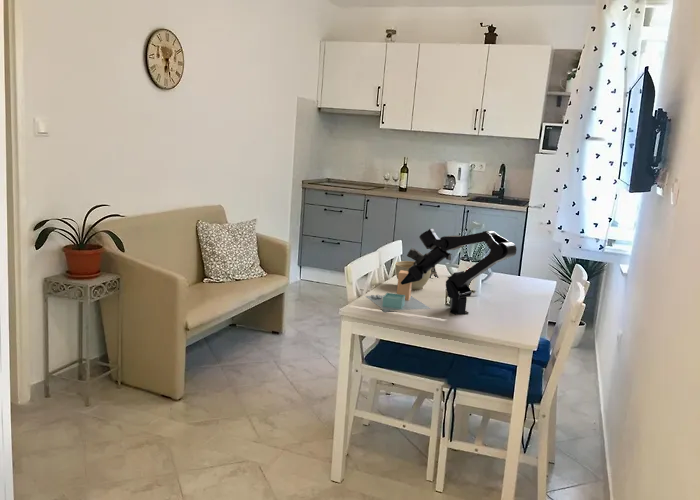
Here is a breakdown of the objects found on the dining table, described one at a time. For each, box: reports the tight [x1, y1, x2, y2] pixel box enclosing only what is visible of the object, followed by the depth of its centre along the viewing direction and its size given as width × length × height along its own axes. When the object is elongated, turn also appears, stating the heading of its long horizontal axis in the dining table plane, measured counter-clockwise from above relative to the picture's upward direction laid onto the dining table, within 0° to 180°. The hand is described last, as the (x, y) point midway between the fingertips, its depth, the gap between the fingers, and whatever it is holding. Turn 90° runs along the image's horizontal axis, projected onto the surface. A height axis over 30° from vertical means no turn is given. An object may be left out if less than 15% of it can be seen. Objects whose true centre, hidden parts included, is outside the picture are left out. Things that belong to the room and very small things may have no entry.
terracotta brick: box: [396, 270, 412, 301], centre depth 251 cm, size 5×5×11 cm
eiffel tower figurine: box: [429, 266, 440, 279], centre depth 297 cm, size 15×10×13 cm
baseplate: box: [365, 292, 432, 313], centre depth 246 cm, size 20×20×4 cm
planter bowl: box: [394, 260, 432, 291], centre depth 272 cm, size 16×16×11 cm
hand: (403, 281), depth 251 cm, fingers open, 9 cm apart
